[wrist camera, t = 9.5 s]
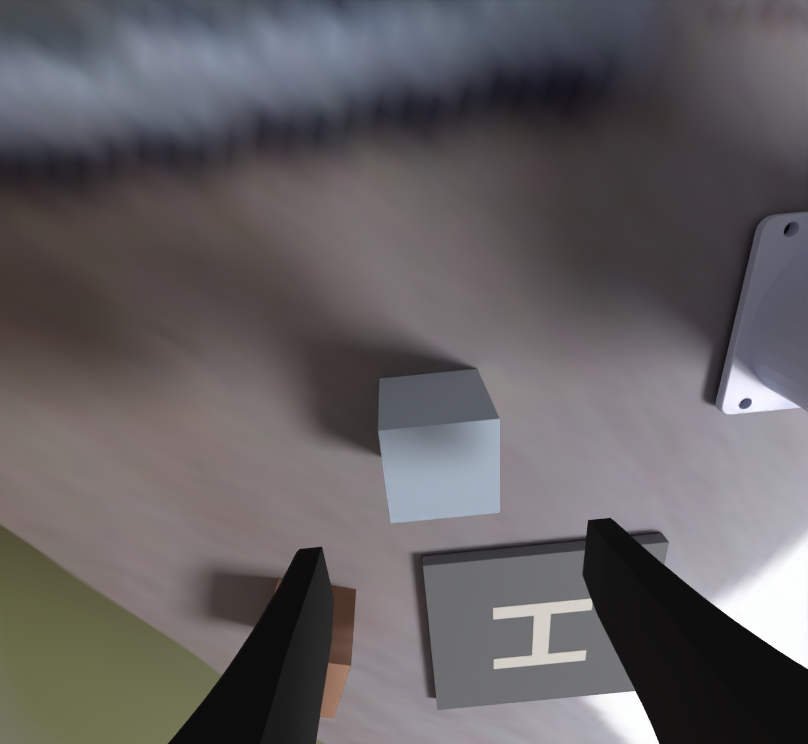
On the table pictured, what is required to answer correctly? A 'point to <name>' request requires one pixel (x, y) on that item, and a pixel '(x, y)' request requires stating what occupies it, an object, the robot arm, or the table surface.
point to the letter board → (519, 626)
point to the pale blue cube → (439, 446)
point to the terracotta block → (338, 648)
